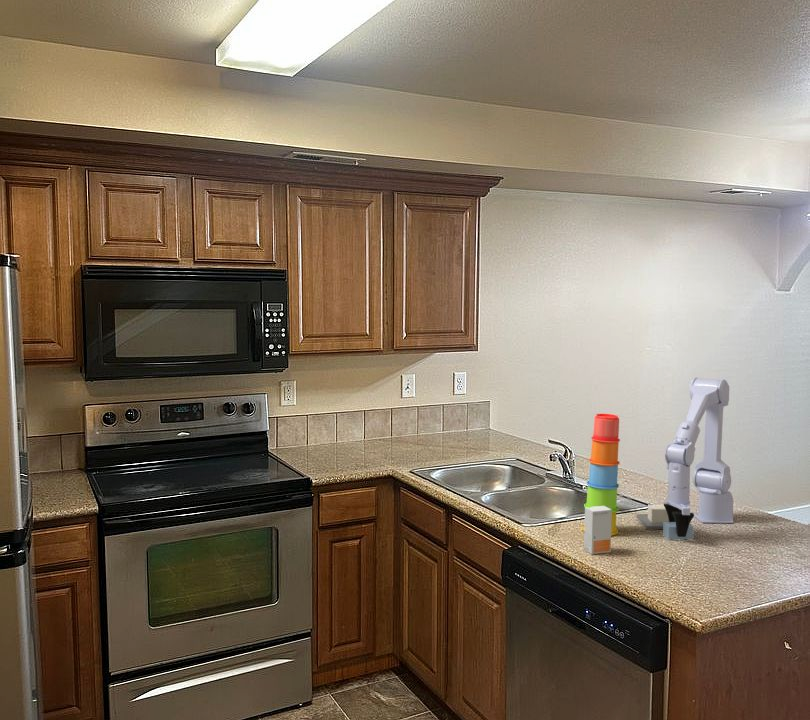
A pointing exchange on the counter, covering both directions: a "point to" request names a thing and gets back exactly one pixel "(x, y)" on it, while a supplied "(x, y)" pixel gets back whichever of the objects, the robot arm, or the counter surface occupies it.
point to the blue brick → (675, 531)
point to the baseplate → (649, 522)
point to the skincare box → (597, 529)
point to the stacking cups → (604, 466)
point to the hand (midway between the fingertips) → (677, 532)
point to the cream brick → (657, 513)
